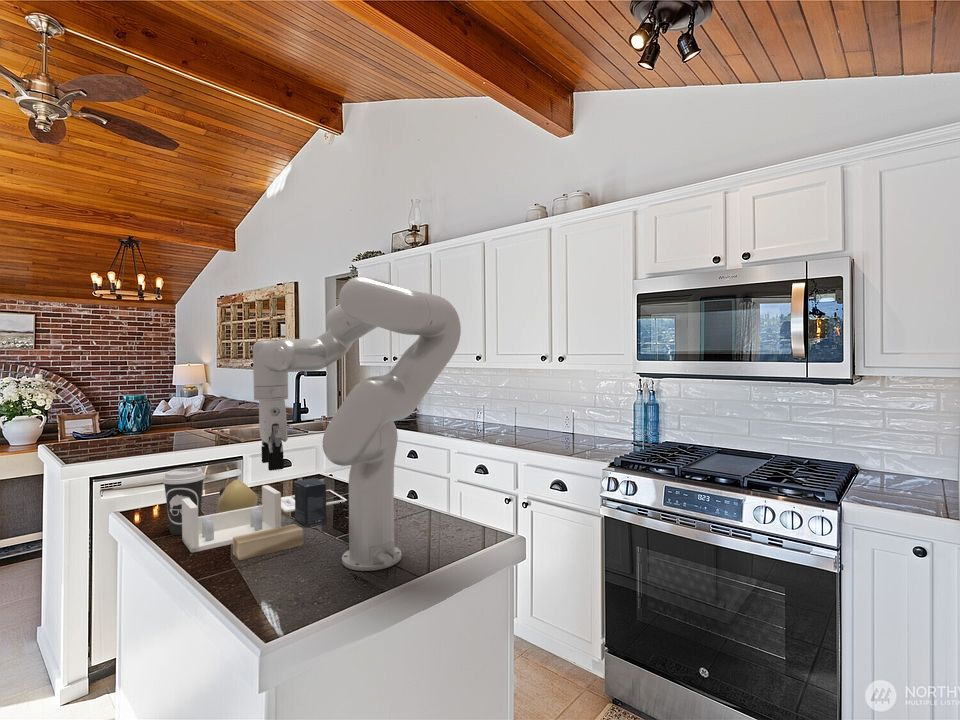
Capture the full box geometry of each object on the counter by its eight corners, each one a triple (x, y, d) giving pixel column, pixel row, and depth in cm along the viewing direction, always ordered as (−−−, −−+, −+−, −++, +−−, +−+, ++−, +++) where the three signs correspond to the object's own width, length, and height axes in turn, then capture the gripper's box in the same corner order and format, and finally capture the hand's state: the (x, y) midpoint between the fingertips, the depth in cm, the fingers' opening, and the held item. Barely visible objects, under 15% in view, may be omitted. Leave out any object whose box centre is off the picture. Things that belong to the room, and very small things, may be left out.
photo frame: (271, 498, 160) (329, 489, 171) (271, 501, 160) (330, 492, 171) (285, 509, 148) (346, 499, 159) (285, 513, 148) (347, 502, 159)
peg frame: (281, 532, 131) (280, 492, 131) (191, 552, 119) (190, 508, 118) (268, 522, 139) (267, 485, 139) (182, 540, 126) (181, 499, 126)
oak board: (303, 546, 123) (302, 529, 123) (239, 561, 114) (239, 543, 114) (295, 540, 127) (294, 523, 127) (232, 555, 118) (232, 537, 118)
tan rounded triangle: (252, 509, 151) (252, 472, 151) (260, 520, 141) (260, 480, 141) (214, 515, 146) (213, 477, 146) (219, 527, 136) (219, 486, 136)
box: (326, 522, 139) (326, 482, 139) (305, 527, 135) (305, 486, 135) (315, 515, 145) (314, 477, 145) (294, 520, 141) (294, 480, 141)
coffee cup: (214, 527, 135) (213, 469, 135) (176, 539, 127) (175, 477, 127) (192, 521, 140) (191, 465, 140) (154, 532, 132) (153, 472, 132)
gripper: (295, 394, 119) (296, 470, 119) (281, 390, 134) (282, 458, 134) (259, 396, 115) (260, 475, 115) (248, 391, 130) (250, 461, 130)
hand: (272, 465), depth 124 cm, fingers open, 9 cm apart
